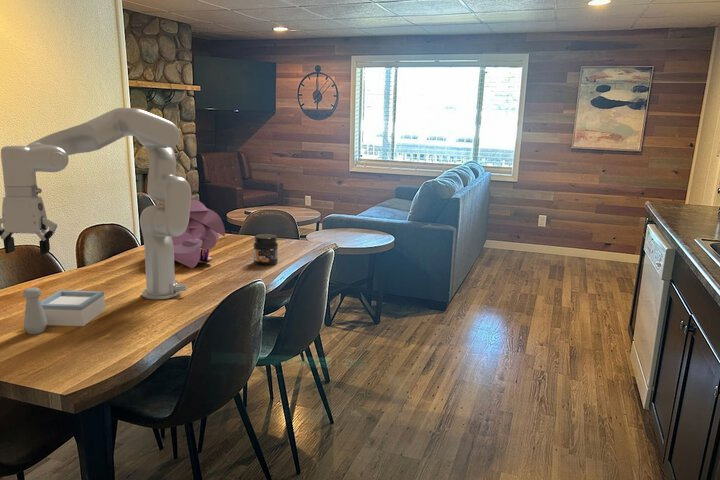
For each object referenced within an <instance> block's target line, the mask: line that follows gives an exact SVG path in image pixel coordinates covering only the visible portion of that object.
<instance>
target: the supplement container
mask: <svg viewBox="0 0 720 480" xmlns="http://www.w3.org/2000/svg"><path fill="white" fill-rule="evenodd" d="M253 238H254V242H253V244H252V246H253V263H254V264H255V265H258V266H273V265H275V264H277V263H278V259H279V257H278V252H279V251H278V245H279V243H278V242H277V241H278V240H277V235H276V234H270V233H260V234H256V235H254V237H253Z"/></svg>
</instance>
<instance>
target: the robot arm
mask: <svg viewBox="0 0 720 480" xmlns="http://www.w3.org/2000/svg"><path fill="white" fill-rule="evenodd" d="M128 136H131V137H135V138H136V139H137V141H138V142H139V143H140V144H141V146H142V147H144V149H145V151H146V152H147V155H148V158H149V159H148V160H149V165H148V176H147V177H148V178H147V179H148V180H147V187H146V188H147V189H146V190H147V195H148V197H149V198H150V199H151V200H152V201H155V202H159V203H164V206H163V205H149V206H147V207H145V208H144V209H143V210H142V212H141V213H140V216H139V225H140V230H141V233H142V238H143V245H144V264H145V282H146V288H145V289H144V290H142V293H141V294H142V295H141V296H142V297H143V298H145V299H148V300H166V299H171V298H174V297H177V296H179V295H181V292H187V289H188V286H187V285H186V284H185V283H179V282H178V281H179V280H178V279H176V274H175V260H174V245H173V240H172V237H179V236H181V235H182V234H184V232H185V231H186V229H187V227H188V223H189V215H190V205H191V200H192V189H191V185H190V183H189V182H188V181H187V179H186V178H184V177H182V176H178V175H176V172H177V170H176V169H177V168H176V167H177V157H176V154H175V151H174V149H173V148H174V147H176V146H177V145H178V144H179V142H180V139H181V132H180V130H179V128H178V125H176V124H175V123H173V122H172V121H171V120H168V119H166V118H163V117H160V116H158V115H155V114H153V113H151V112H148V111H146V110H143V109H140V108H136V107H116V108H114V109H111V110H108V111H107V112H105V113H102V114H101V115H99V116H96V117H94V118H92V119H90V120H88V121H86V122H83V123H80V124H78V125H74V126H71V127H68V128H66V129H62V130H59V131H57V132H56V131H55V132H53V133H51V134H48V135H45V136H44V137H41V138H39V139H36V140H34V141H31V142H30V143H29V144H27V145H7V146H6V145H5V146H3V147H1V149H0V159H1V161H0V162H1V168H2V176H3V177H2V178H3V185H4V187H3V188H4V195H5V196H4V197H3V198H2V205H1V218H0V239H2V240H3V248H4V251H5V254H11V253H13V252H15V251H16V246H15V239H14V238H15V237H13V234H27V235H29V234H30V235H31V234H32V235H34V234H36V236H37V237H38V238H39V239H40V240H39V242H38V243H39V252H40V255H46V254H48V253H50V249H51V248H50V246H51V245H50V239H51V238H52V237H53V235H54V234H55V233H56V231H57V228H58V223H55V222H53V221H52V220H49V219H48V215H47V212H46V207H45V204H44V201H43V198H42V196H40V195H39V194H41V193H42V188H39V187H38V184H37V176H36V175H37V172H38V173H40V172H42V173H58V172H61V171H63V170H64V169H66V168H67V166H68V164H69V156H71V155H76V154H85V153H91V152H95V151H99V150H101V149H103V148H104V147H107V146H109V145H110V144H113V143H114V142H116V141H119V140H120V139H123V138H125V137H128ZM47 230H48V231H47Z"/></svg>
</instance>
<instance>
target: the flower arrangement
mask: <svg viewBox="0 0 720 480" xmlns="http://www.w3.org/2000/svg"><path fill="white" fill-rule="evenodd" d="M223 222H224V221H223V220H222V218H221V216H220V215H219V214H218V213H217V212H216V211H214V210H212V209H210V208H207V207H206V206H205V204H204V203H202V202H201V201H200V200H197V199H191V205H190V215H189V223H188V227H187V229H186V231H185V232H184V234H182V235H181V236H179V237H172V240H173V245H174V262H177V263H180V264H182V265H184V266H186V267H188V268H191V269H194V268H195V267H196V266H197V265H198V263H205V264H206V263H210V262H212V259H213V258H212V257H210V256H209V255H210V250H211V249H213V248H215V246H216V245H217V241H219V238H220V236H219V235H221V236H223V237H224V238H225V236H226V231H225V225H224V223H223Z"/></svg>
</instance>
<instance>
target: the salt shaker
mask: <svg viewBox="0 0 720 480" xmlns="http://www.w3.org/2000/svg"><path fill="white" fill-rule="evenodd" d="M22 295H23V297H24V298H25V311H24V317H23V319H24V320H23V328H24V329H25V331H26V332H27V334H28V335H38V334H42V333H43V332H44V331H45V330H46V328H47V326H48V325H47V320H46V317H45V314H44V311H43V308H42V304H41V301H42V300H41V299H40V297H41V295H42V291H41V289H40V288H39V287H33V286H32V287H28V288H25V289H24V290H23V292H22Z"/></svg>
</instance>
